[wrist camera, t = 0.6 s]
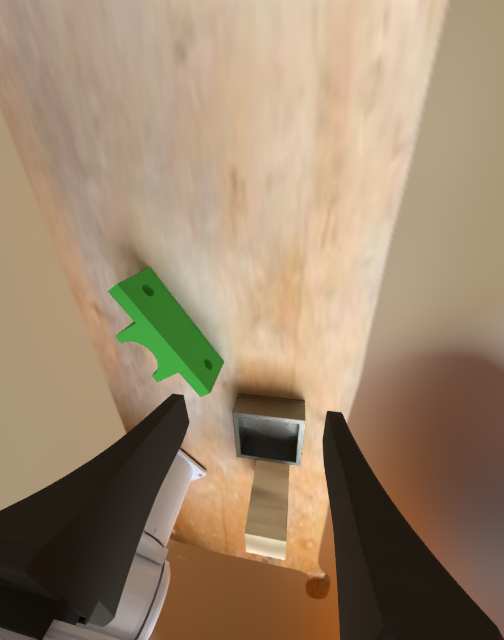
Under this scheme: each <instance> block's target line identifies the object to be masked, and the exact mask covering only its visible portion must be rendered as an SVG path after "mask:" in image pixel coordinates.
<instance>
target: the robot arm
mask: <svg viewBox="0 0 504 640" xmlns="http://www.w3.org/2000/svg"><path fill="white" fill-rule="evenodd" d="M188 425H189V418H188V414H187V409H186V404H185V400H184V395H179V394H172V395H171V396H170V397H168V398H167V399H166V400H165V401H164V402H163V403H162V404H160V405H159V406H158V407H157V408H156V409H155V410H154V411H153V412H152V413H150V414H149V415H148V416H147V417H146V418H145V419H144V420H142V421H141V422H140V423H139V424H138V425H137V426H135V427H134V428H133V429H132V430H131V431H129V432H128V433H127V434H126V435H124V436H123V437H122V438H121V439H119V440H118V441H117V442H116V443H114V444H113V445H112V446H110V447H109V448H108V449H106V450H105V451H104V452H102V453H100V454H99V455H98V456H96V457H95V458H93V459H92V460H90V461H89V462H87V463H86V464H84V465H82V466H81V467H79V468H78V469H76V470H74V471H73V472H71V473H70V474H68V475H66V476H65V477H63V478H62V479H60V480H58V481H56V482H54V483H53V484H51V485H49V486H47V487H46V488H44V489H42V490H40V491H38V492H37V493H34V494H33V495H31V496H29V497H27V498H25V499H23V500H21V501H19V502H17V503H15V504H13V505H11V506H9V507H7V508H5V509H3V510H1V511H0V640H148V638H149V637H150V635H151V633H152V630H153V628H154V626H155V624H156V621H157V619H158V616H159V614H160V611H161V608H162V605H163V602H164V599H165V596H166V593H167V589H168V585H169V581H170V568H169V562H168V561H166V560H165V559H166V556H167V553H168V549H166V545H167V542H168V540H169V537H170V534H171V532H172V529H173V526H174V524H175V521H176V519H177V516H178V513H179V511H180V508H181V505H182V503H183V500H184V497H185V495H186V492H187V489H188V487H189V484H190V481H193V480H196V479H198V478H201V477H204V476H206V474H207V472H206V470H204V469H203V468H202V467H201V466H200V465H198V464H197V463H196V462H195V461H194V460H192V459H191V458H190V457H189V456H188V455H186V454H185V453H184V452H183V451H182V450H180V446H181V444H182V442H183V439H184V437H185V434H186V431H187V428H188ZM323 458H324V468H325V475H326V481H327V488H328V494H329V501H330V508H331V514H332V521H333V530H334V543H335V557H336V572H337V586H338V587H337V588H338V604H339V622H340V640H504V639H503V637H502V635H501V633H500V631H499V629H498V627H497V626H496V625H495V624H494V623H493V622H492V620H491V619H490V618H489V617H488V616H487V615H486V614H485V613H484V612H483V611H482V610H481V609H480V607H478V605H477V604H476V603H475V602H474V601H473V600H472V599H471V598H470V596H469V595H468V594H467V593H466V592H465V591H464V590H463V589H462V587H461V586H460V585H459V584H458V583H457V582H456V581H455V580H454V578H453V577H452V576H451V575H450V574H449V573H448V571H447V570H446V569H445V568H444V567H443V566H442V564H441V563H440V562H439V561H438V560H437V559H436V557H435V556H434V555H433V554H432V552H431V551H430V550H429V549H428V547H427V546H426V545H425V544H424V542H423V541H422V540H421V539H420V537H419V536H418V535H417V534H416V532H415V531H414V530H413V529H412V527H411V526H410V525H409V523H408V522H407V521H406V519H405V518H404V517H403V516H402V514H401V513H400V511H399V510H398V509H397V507H396V506H395V504H394V503H393V502H392V500H391V499H390V497H389V496H388V495H387V493H386V492H385V490H384V488H383V487H382V485H381V484H380V482H379V481H378V479H377V478H376V476H375V474H374V473H373V471H372V470H371V468H370V466H369V465H368V463H367V461H366V459H365V458H364V456H363V454H362V452H361V451H360V449H359V447H358V445H357V443H356V442H355V440H354V438H353V436H352V434H351V432H350V430H349V427H348V425H347V423H346V421H345V419H344V416H343V414H342V413H341V412H332V411H327V415H326V421H325V428H324V434H323Z"/></svg>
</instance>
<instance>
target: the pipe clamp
mask: <svg viewBox="0 0 504 640" xmlns="http://www.w3.org/2000/svg"><path fill="white" fill-rule="evenodd" d="M108 292H109V293H110V294H111V295H112V297H113V298H114V299H115V300H116V301H117V302H118V303H119V305H120V306H121V307H122V308H123V309H124V310H125V311H126V313H127V314H128V315H129V316H130V317H131V318H132V319H133V321H134V322H133V323H132V324H130V325H129V326H128V327H126V328H125V329H124V330H123V331H121V332H120V333H119V334H117V335H116V336H115V337H116V338H117V339H118V340H119V341H120V342H121V343H123V342H128V341H132V342H137V343H140V344H142V345H144V346H145V347H147V348H148V349H149V350H150V351H151V352H152V353H153V354H154V355H155V357H156V359H157V362H158V369H157V370H156V372H155V373H154V374H153V375H152V377H153V378H154V379H155V380H156V381H157V382H159V381H161V380H163V379H165V378H168V377H170V376H172V375H174V374H176V373H178V372H179V373H180V374H181V375H182V377H183V378H184V379H185V380H186V381H187V382H188V383H189V384H190V386H191V387H192V388H193V389H194V390H195V391H196V392H197V394H198V395H199V396H200V397H201V396H204V395H207V394H209V393H210V392H211V390H212V388H213V386H214V383H215V381H216V379H217V377H218V374H219V372H220V370H221V368H222V365H223V363H224V361H223V360H222V359H221V357H220V356H219V355H218V353H217V352H216V351H215V350H214V348H213V347H212V346H211V345H210V343H209V342H208V341H207V339H206V338H205V337H204V336H203V334H202V333H201V332H200V330H199V329H198V328H197V327H196V325H195V324H194V323H193V321H192V320H191V319H190V318H189V316H188V315H187V314H186V312H185V311H184V310H183V309H182V307H181V306H180V305H179V304H178V302H177V301H176V300H175V298H174V297H173V296H172V295H171V293H170V292H169V291H168V289H167V288H166V287H165V286H164V284H163V283H162V282H161V280H160V279H159V278H158V277H157V275H156V274H155V273H154V271H153V270H152V269H151V268H148V269H146V270H144V271H142V272H140V273H138V274H136V275H134V276H132V277H130V278H128V279H126V280H124V281H122V282H120V283H118V284H116V285H115V286H114V287H113V288H111V289H110V290H109V291H108Z"/></svg>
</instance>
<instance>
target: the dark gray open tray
mask: <svg viewBox="0 0 504 640" xmlns="http://www.w3.org/2000/svg"><path fill="white" fill-rule="evenodd" d="M232 413H233V423H234V434H235V444H236V455H237V457H242V458H248V459H255V460H262V461H268V462H275V463H281V464H288V465H295V466H301V457H302V448H303V438H304V428H305V401H301V400H292V399H283V398H273V397H264V396H255V395H245V394H238V396H237V399H236V402H235V405H234V409H233V412H232Z"/></svg>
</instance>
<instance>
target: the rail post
mask: <svg viewBox="0 0 504 640" xmlns="http://www.w3.org/2000/svg"><path fill="white" fill-rule="evenodd" d="M288 487H289V465H288V464H281V463H275V462H268V461H262V460H256V466H255V472H254V479H253V485H252V491H251V497H250V503H249V510H248V516H247V522H246V528H245V543H246V552H250V553H255V554H259V555H264V556H269V557H273V558H278V559H282V560H285V554H286V539H287V513H288Z"/></svg>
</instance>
